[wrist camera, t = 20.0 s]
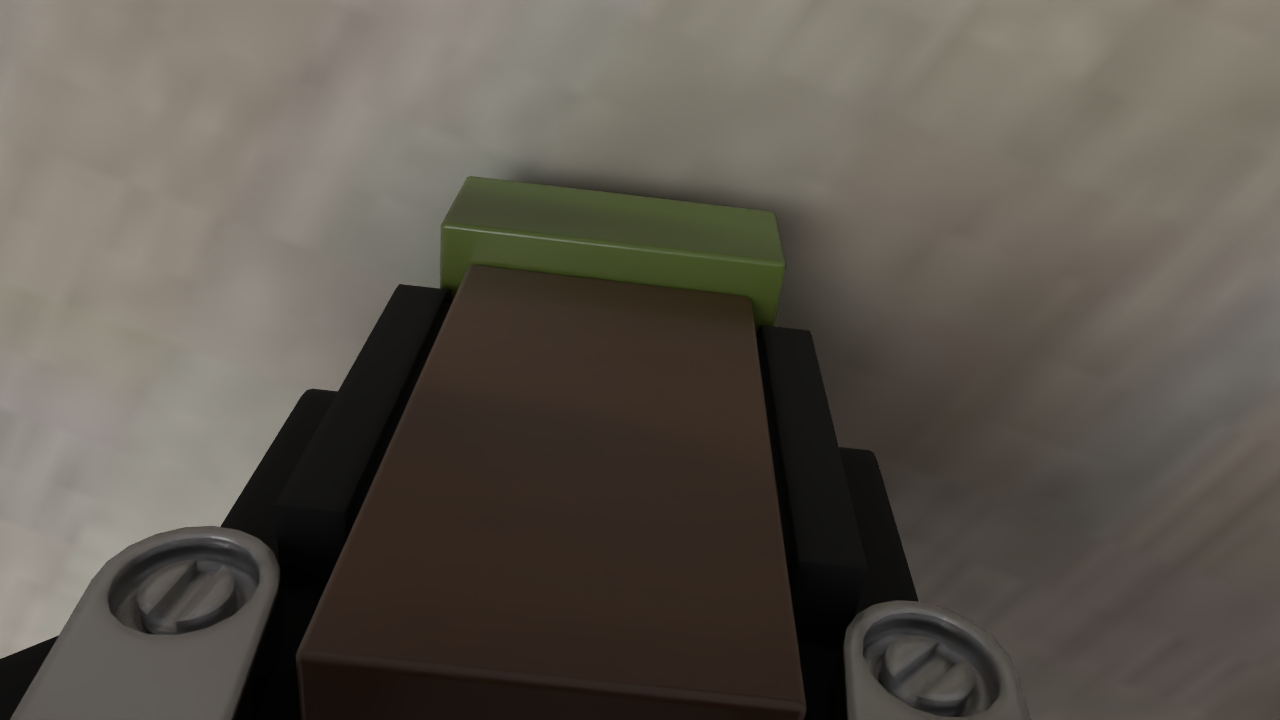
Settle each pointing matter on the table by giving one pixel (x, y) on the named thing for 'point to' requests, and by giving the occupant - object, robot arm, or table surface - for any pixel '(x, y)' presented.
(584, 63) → the table surface
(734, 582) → the scrub brush
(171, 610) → the robot arm
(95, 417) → the table surface
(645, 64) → the table surface
